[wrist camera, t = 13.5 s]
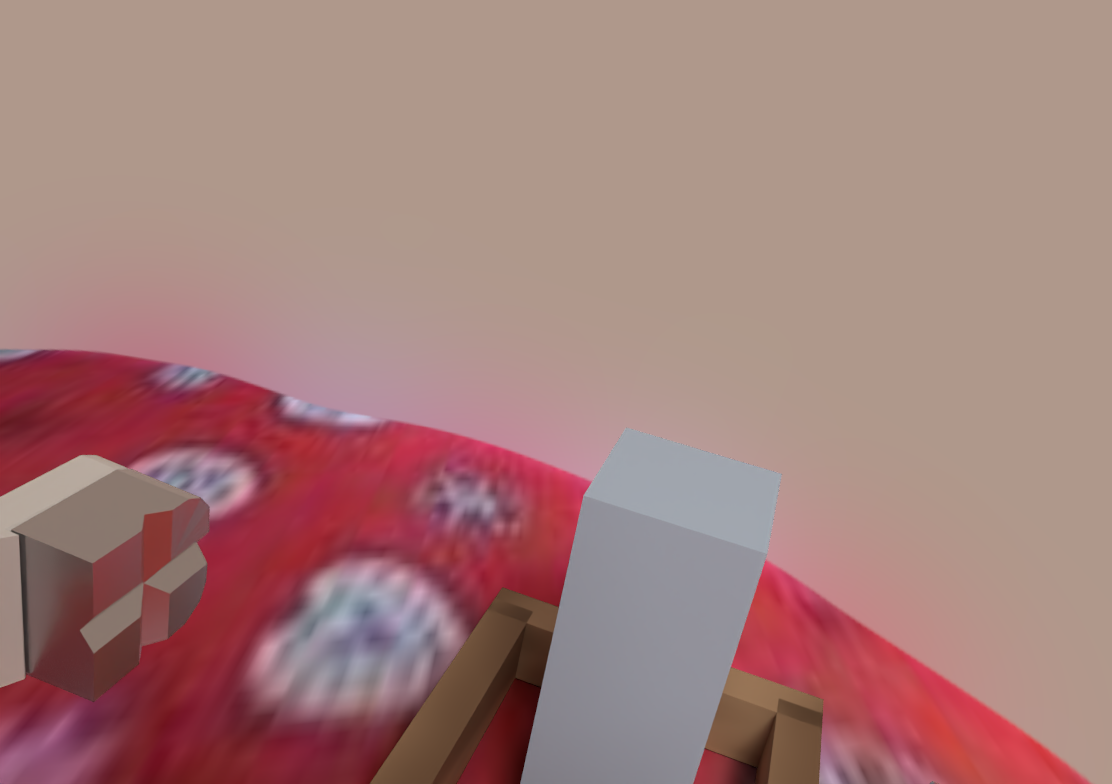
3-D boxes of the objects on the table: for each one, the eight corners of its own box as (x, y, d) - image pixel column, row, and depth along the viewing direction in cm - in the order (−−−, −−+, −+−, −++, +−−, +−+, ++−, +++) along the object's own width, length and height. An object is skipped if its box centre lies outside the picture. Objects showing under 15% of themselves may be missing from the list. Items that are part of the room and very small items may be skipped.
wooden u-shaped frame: (342, 877, 25) (350, 812, 24) (492, 640, 35) (502, 587, 34) (777, 1070, 22) (806, 1004, 21) (802, 753, 32) (823, 699, 31)
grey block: (506, 845, 26) (583, 495, 22) (553, 741, 31) (626, 427, 26) (653, 906, 26) (767, 554, 21) (681, 790, 30) (781, 473, 25)
